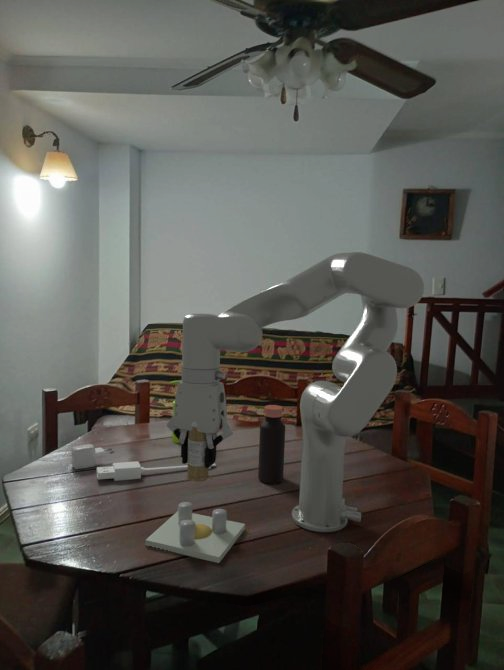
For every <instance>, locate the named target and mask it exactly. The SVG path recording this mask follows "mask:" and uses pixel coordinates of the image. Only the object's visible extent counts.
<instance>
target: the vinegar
mask: <svg viewBox="0 0 504 670" xmlns="http://www.w3.org/2000/svg"><path fill="white" fill-rule="evenodd" d="M263 408H264V410H263V415H264V416H263V417H264V420H263V421H262V422H261V423H260V425H259V442H258V443H259V444H258V445H259V447H258V470H257V471H258V472H257V479H258V481H259V482H261V483H263V484H268V485H275V484H276V485H277V484H280V483H281V482H283V480H284V470H285V468H284V466H285V445H286V444H285V443H286V425H285V423H284V422H283V421H282V418H283V412H284V411H283V406H282V405H278V404H268V405H265V406H264V407H263Z"/></svg>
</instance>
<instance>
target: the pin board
mask: <svg viewBox="0 0 504 670" xmlns="http://www.w3.org/2000/svg"><path fill="white" fill-rule="evenodd" d="M177 507H178V508H177V511H176V512H175V513H173V515H171V516H170V518H168V519H167V520H166V521H165V522H164V523H163V524H162V525H160V526H159V527H158V528H157V529H156V530H155V531H153V533H151V535H149V536H148V537H147V538H146V539H145V545H147V546H146V547H149V546H152V547H151V548H154V547H156V548H155V549H158V548H160V549H159V550H162V549H164V550H163V551H166V550H168V551H167V552H170V551H171V553H174V552H175V553H174V554H179V555H183V556H186V557H187V556H188V557H192V558H195V559H199V560H204V561H207V562H212V563H217V564H219V563H220V562H221V561H222V560H223V559H224V557H225V556H226V555H227V553H229V551H230V550H231V548H232V547H233V545H235V543H236V542H237V541H238V539H239V538H240V536H241V535H242V534H243V532H244V531H245V530H246V523H242V522H238V521H233V520H228V512H227V510H226V509H223V508H216V509H213V510H212V516H208V515H204V514H203V515H202V514H199V513H193V503H191V502H189V501H183V502H180V503H178V506H177Z"/></svg>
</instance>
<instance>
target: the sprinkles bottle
mask: <svg viewBox="0 0 504 670" xmlns="http://www.w3.org/2000/svg"><path fill="white" fill-rule="evenodd" d="M191 426H194V427H192V428H193V429H192V431H189V436H188V461H187V465H188V468H187V474H186V477H187V480H189V481H191V482H194V483H195V482H196V483H200V482H205V481H207V480H208V479H209V478H210V476H209V469H208V468H206V467H205V449H206V448H207V447H208V444H207V438H206V434H205V433H201V432H198V431H197V428H195V427H197V423H196V422H192V425H191Z"/></svg>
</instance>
